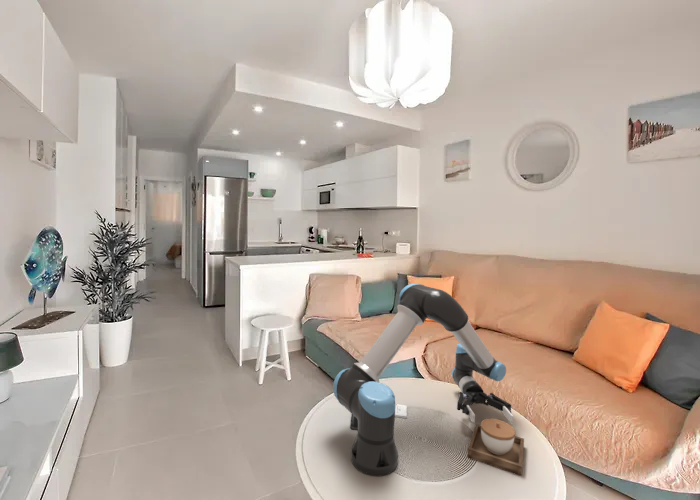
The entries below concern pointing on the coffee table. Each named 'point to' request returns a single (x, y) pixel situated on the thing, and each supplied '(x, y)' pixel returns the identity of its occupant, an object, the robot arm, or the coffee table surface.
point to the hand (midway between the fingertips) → (493, 419)
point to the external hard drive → (401, 411)
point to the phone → (354, 423)
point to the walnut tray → (505, 462)
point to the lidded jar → (497, 436)
